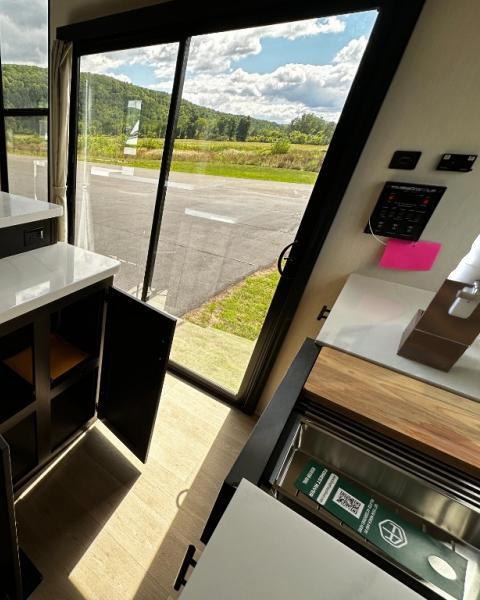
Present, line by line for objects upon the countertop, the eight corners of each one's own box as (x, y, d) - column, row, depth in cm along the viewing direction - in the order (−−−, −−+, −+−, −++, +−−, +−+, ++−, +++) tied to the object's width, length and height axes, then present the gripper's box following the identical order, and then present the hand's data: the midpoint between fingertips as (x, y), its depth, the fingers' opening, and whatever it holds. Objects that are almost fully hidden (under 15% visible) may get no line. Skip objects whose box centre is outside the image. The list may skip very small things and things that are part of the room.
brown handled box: (445, 278, 86) (446, 282, 83) (509, 293, 79) (512, 298, 76) (414, 327, 93) (413, 333, 89) (470, 345, 86) (471, 351, 82)
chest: (402, 332, 107) (418, 308, 101) (450, 348, 100) (470, 323, 94) (396, 354, 98) (413, 329, 93) (447, 372, 91) (469, 346, 86)
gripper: (498, 293, 77) (463, 337, 84) (495, 265, 89) (465, 306, 96) (460, 284, 81) (430, 327, 88) (463, 259, 93) (436, 298, 100)
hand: (448, 316), depth 92 cm, fingers open, 8 cm apart
